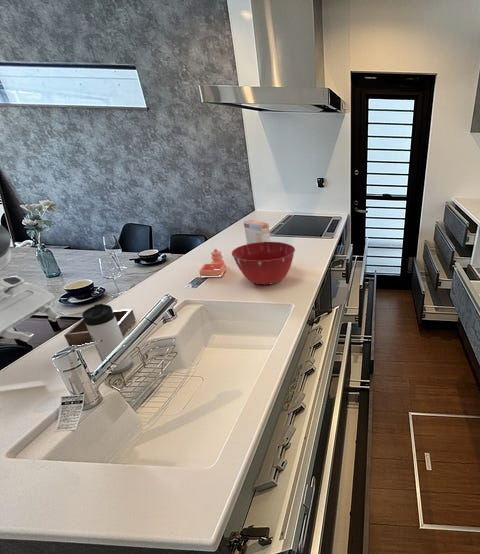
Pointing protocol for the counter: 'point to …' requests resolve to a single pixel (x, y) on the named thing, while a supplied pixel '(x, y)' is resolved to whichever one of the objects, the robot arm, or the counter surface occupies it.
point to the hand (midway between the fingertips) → (45, 328)
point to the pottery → (213, 265)
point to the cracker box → (256, 231)
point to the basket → (82, 335)
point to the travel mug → (105, 333)
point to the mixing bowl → (264, 261)
